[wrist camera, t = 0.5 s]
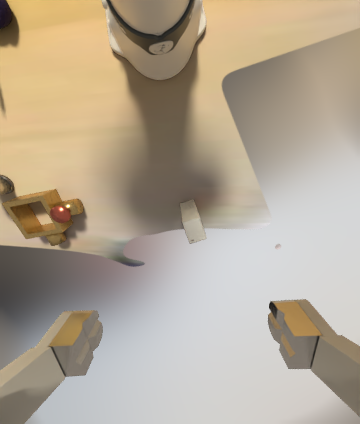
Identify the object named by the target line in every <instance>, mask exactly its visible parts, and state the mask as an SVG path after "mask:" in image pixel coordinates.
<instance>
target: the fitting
mask: <svg viewBox="0 0 360 424" xmlns="http://www.w3.org/2000/svg"><path fill="white" fill-rule="evenodd" d="M37 201H41V203H42V204H43V206H44V208H45V210H46V211H47V213H48V215H49V216H50V218H51V220H52V222H53V223H50V224H45V225H41V224H40V222H39V221H38V219H37V218H36V216H35V214H34V213H33V211H32V209H31V208H30V206H29V205H28V203H32V202H37ZM2 205H3V206H4V208H5V209H6V211H7V212H8V214H9V215H10V216H11V218H12V219H13V221H14V222H15V224H16V225H17V227H18V228H19V230H20V231H21V232H22V234H23V235H24V237H25V238H26V239H29V238H35V237H40V236H46V238H47V239H48V241H49V243H50V244H51V246H55V245H58V244H60V243H62V242H64V241H65V240H66V236H65V235H64V233H63V232H64V231H65V230H66V229H67V228H68V227H70V226H71V225H72V224H73V221H72V219H71V215H76V214H81V213H82V212H83V204H82V202H81V201H80V200H79V199H73V200H68V201H63V202H62V200H61V198H60V196H59V194H58V192H57V191H56V189H54V190H49V191H44V192H39V193H34V194H29V195H24V196H19V197H16V198H14V199H11V200H9V201H7V202H4V203H2Z"/></svg>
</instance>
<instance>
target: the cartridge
mask: <svg viewBox="0 0 360 424" xmlns="http://www.w3.org/2000/svg"><path fill="white" fill-rule="evenodd" d="M13 190H14V185H13V182H12V181H11V180H10V179H9V178H8V177H6V176H3V175H0V195H3V194H8V193H11V192H12V191H13Z"/></svg>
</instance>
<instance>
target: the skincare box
mask: <svg viewBox="0 0 360 424" xmlns="http://www.w3.org/2000/svg"><path fill="white" fill-rule="evenodd" d="M180 208H181V217H182V224H183V227H184V229H185V232H186V235H187V238H188V240H189V243H190V244H191V243H194V242H197V241H201V240H204V239H206V235H205V231H204V228H203V225H202V222H201V219H200V216H199V213H198V210H197V207H196V204H195V202H194V199H192V200H189V201H186V202H183V203H180Z"/></svg>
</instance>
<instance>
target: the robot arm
mask: <svg viewBox="0 0 360 424" xmlns="http://www.w3.org/2000/svg"><path fill="white" fill-rule="evenodd" d="M102 4H103V7H104V9H105V12H106V20H107V28H108V36H109V43H110V46H111V48H112V50H113V51H114V52H116V53H117V54H119V55H121V56H122V57H125V58H126V59H127V60H128V61H129V62H130V63H131V64H132V65H133V66H134V68H135V69H136V70H137V71H139V72H140V73H141V74H143V75H144V76H146V77H148V78H151V79H155V80H165V79H169V78H171V77H173V76H175V75H177V74H178V73H179V72H180V71H181V70H182V69H183V68H184V67H185V65H186V64H187V62H188V61H189V59H190V56H191V54H192V51H193V48H194V45H195V43H196V41H197V40H198V39H199V38H200V36H201V35H202V34H203V32H204V31H205V28H206V22H207V21H206V16H205V11H204V7H203V3H202V0H102ZM269 309H270V310H271V313H270V314H269V315H268V324H269V329H270V332H271V334H272V336H273V338H274V340H276V341H277V342H278V343H279V344H280V349H279V350H280V353H281V355H282V356H283V358H284V361H285V363H286V365H287V367H288V369H311V370H312V372H313V373H314V374H315V375H317V376H318V377H319V378H320V379H321V380H322V381H323V382H324V383H325V384H326V385H327V386H328V387H329V388H330V389H331V390H332V391H333V392H334V393H335V394H336V395H337V396H338V397H340V399H342V400H343V401H344V402H345V403H346V404H347V405H348V406H349V407H350V408H351V409H352V410H353V411H354V412H355V413H356V414H357V415H358V416H360V346H358V345H357V344H355V343H353V342H352V341H350V340H349V339H347V338H345V337H344V336H342V335H341V336H340V335H337V334H336V333H335V331H334V330H333V329H332V328H331V327H330V326H329V324H328V323H327V322H326V321H325V320H324V319H323V318H322V316H321V315H320V314H319V313H318V312H317V310H316V309H315V308H314V307H313V306H312V305H311V304H310V302H308V301H307V300H306V299H303V300H284V301H271V302H270V304H269ZM98 317H99V314H98V312H97V311H94V310H93V311H92V310H91V311H65V312H63V313H62V314H61V315H60V316H59V317H58V318H57V320H56V321H55V322H54V324H53V325H52V326H51V328H50V329H49V330H48V331H47V333H46V334H45V335H44V337H43V338H42V339H41V340H40V342H39V343H38V344H37V346H36V347H35V348H31V349H29V350H28V351H27V352H25V353H24V354H22V355H21V356H20V357H18V358H17V359H16V360H14V361H13V362H11V363H10V364H9V365H7V366H6V367H5V368H3V369H2V370H0V424H24V423H25V422H26V421H27V420H28V419H29V418H30V417H31V416H32V414H33V413H34V412H35V411H36V410H37V409H38V408H39V407H40V406H41V404H42V403H43V402H44V401H45V400H46V399H47V398H48V397H49V396H50V394H51V393H52V392H53V391H54V390H55V389H56V388H57V387H58V386H59V385H60V383H61V382H62V381H63V380H64V379H65V377H67V376H81V375H86V373H87V370H88V368H89V366H90V364H91V361H92V359H93V351H94V350H95V349H96V348H97V347H98V346H99V343H100V341H101V338H102V333H103V327H102V323H101V322H100V321H98V320H97V319H98Z"/></svg>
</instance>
